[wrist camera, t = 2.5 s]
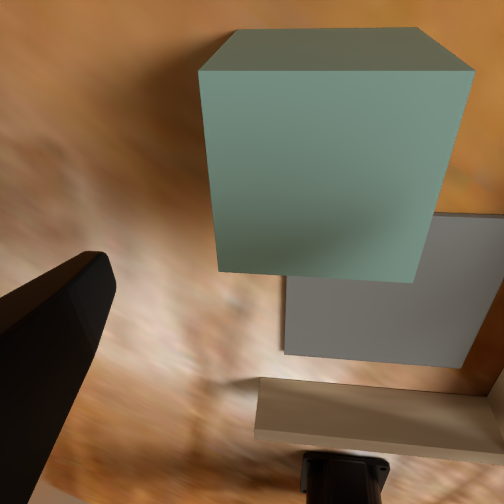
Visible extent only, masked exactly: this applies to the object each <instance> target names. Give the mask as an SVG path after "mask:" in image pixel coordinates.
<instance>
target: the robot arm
mask: <svg viewBox="0 0 504 504" xmlns="http://www.w3.org/2000/svg"><path fill="white" fill-rule="evenodd" d="M115 292H116V280H115V277H114V274H113V270H112V267H111V264H110V261H109V258H108V256H107V254H106V253H104V252H100V251H84V252H82V253H80V254H79V255H77V256H75V257H73V258H71V259H70V260H68V261H66V262H64V263H62V264H61V265H59V266H57V267H55V268H53V269H51V270H50V271H48V272H46V273H44V274H42V275H41V276H39V277H37V278H35V279H33V280H32V281H30V282H28V283H26V284H24V285H22V286H21V287H19V288H17V289H15V290H13V291H12V292H10V293H8V294H6V295H4V296H3V297H1V298H0V504H28V501H29V499H30V497H31V495H32V493H33V490H34V488H35V486H36V484H37V482H38V479H39V477H40V475H41V473H42V471H43V468H44V466H45V464H46V462H47V460H48V457H49V455H50V453H51V451H52V449H53V446H54V444H55V442H56V440H57V438H58V436H59V433H60V431H61V429H62V427H63V425H64V422H65V420H66V418H67V416H68V414H69V411H70V409H71V407H72V405H73V403H74V400H75V398H76V396H77V394H78V392H79V389H80V387H81V385H82V383H83V381H84V378H85V376H86V374H87V372H88V370H89V367H90V365H91V363H92V361H93V358H94V356H95V353H96V350H97V348H98V345H99V342H100V339H101V336H102V333H103V330H104V326H105V323H106V320H107V317H108V314H109V311H110V308H111V305H112V302H113V299H114V296H115ZM389 471H390V465H389V462H387V461H383V460H374V459H364V458H355V457H346V456H337V455H327V454H318V453H305V454H304V455H303V464H302V474H301V483H300V492H302V493H304V494H306V504H382V502H381V491H382V489H383V486H384V484H385V481H386V479H387V476H388V474H389Z"/></svg>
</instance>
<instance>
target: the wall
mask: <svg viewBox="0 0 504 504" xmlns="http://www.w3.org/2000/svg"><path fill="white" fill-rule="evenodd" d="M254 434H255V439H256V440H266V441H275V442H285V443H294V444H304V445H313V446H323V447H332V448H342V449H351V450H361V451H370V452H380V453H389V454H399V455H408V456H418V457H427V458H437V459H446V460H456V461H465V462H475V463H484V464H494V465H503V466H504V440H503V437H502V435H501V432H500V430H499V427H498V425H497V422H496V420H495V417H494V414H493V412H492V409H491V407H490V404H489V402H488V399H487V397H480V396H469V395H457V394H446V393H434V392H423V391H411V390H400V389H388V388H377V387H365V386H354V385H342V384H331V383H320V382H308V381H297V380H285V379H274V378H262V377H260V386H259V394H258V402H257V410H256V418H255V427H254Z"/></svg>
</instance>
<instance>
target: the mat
mask: <svg viewBox="0 0 504 504" xmlns="http://www.w3.org/2000/svg"><path fill="white" fill-rule="evenodd" d="M503 279H504V215H490V214H463V213H436V212H434V214H433V217H432V220H431V224H430V227H429V231H428V234H427V237H426V241H425V244H424V247H423V251H422V254H421V258H420V261H419V264H418V268H417V271H416V274H415V278H414V281H413V283H400V282H384V281H367V280H350V279H333V278H316V277H299V276H287V284H286V315H285V346H284V355H296V356H308V357H321V358H333V359H346V360H358V361H371V362H383V363H396V364H408V365H421V366H433V367H446V368H458V369H461V367H462V365H463V363H464V361H465V359H466V357H467V355H468V352H469V350H470V348H471V346H472V344H473V342H474V340H475V338H476V336H477V334H478V331H479V329H480V327H481V325H482V323H483V321H484V319H485V317H486V315H487V313H488V310H489V308H490V306H491V304H492V302H493V300H494V298H495V296H496V294H497V292H498V289H499V287H500V285H501V283H502V281H503Z"/></svg>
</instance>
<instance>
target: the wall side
mask: <svg viewBox="0 0 504 504" xmlns="http://www.w3.org/2000/svg"><path fill="white" fill-rule="evenodd" d="M487 399H488V402H489V404H490V407H491V409H492V412H493V414H494V417H495V420H496V422H497V425H498V427H499V430H500V432H501V435H502V437H503V440H504V368H503V370H502V372H501V373H500V375H499V377H498V379H497V380H496V382H495V384H494V385H493V387H492V389H491V391H490V392H489V394H488V396H487Z"/></svg>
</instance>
